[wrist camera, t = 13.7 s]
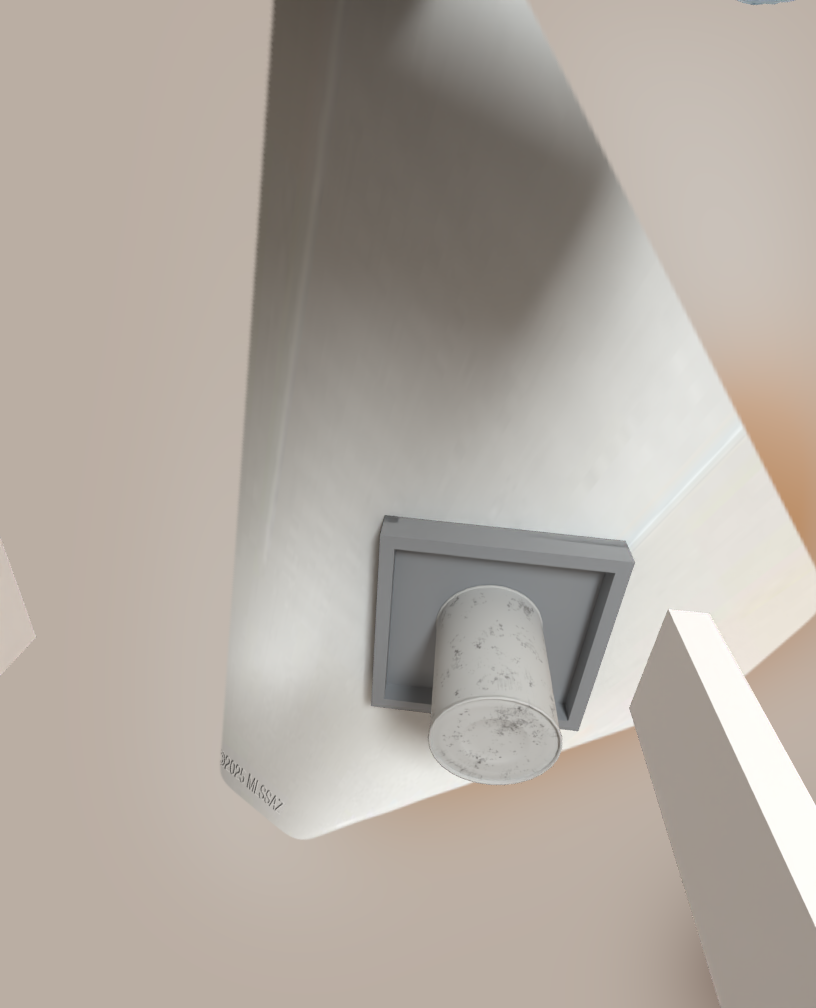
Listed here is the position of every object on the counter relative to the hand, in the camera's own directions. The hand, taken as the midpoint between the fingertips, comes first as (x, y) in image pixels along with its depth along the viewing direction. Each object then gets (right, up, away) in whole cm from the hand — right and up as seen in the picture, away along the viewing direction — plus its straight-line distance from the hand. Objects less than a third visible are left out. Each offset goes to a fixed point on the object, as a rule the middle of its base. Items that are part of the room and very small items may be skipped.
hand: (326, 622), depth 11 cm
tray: (+9, -8, +41) cm, 42 cm away
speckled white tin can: (+9, -9, +40) cm, 42 cm away
